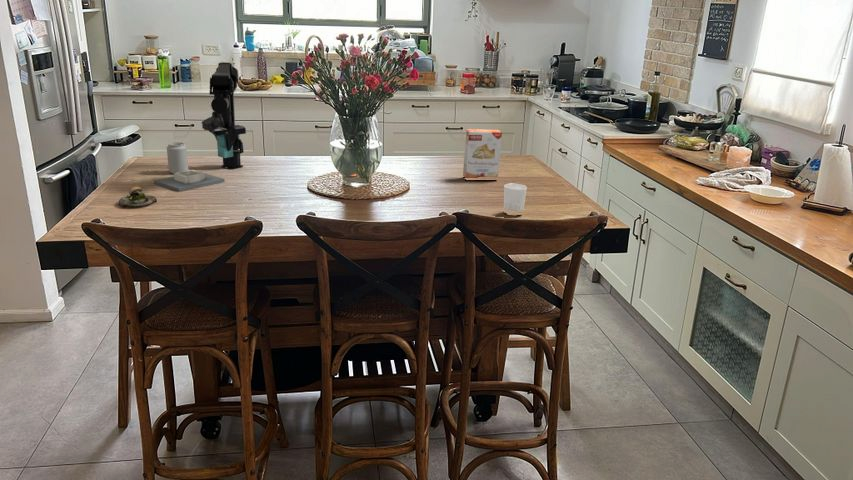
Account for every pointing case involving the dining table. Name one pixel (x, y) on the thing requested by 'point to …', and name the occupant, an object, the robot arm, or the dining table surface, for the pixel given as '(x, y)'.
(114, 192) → the dining table surface
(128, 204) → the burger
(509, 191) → the white cup
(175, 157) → the can
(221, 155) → the peg
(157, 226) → the dining table surface
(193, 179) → the holder
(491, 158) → the cracker box
